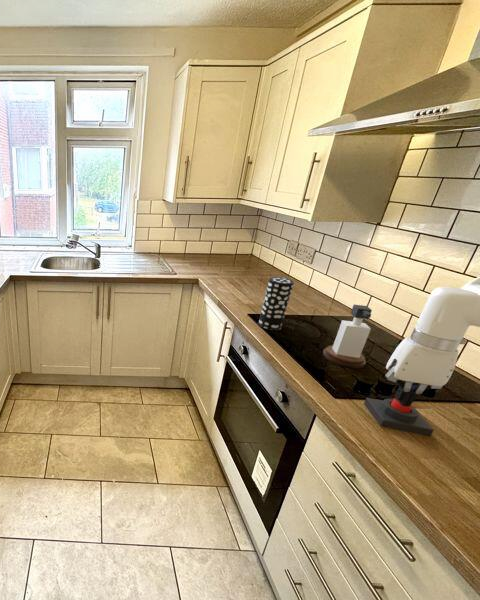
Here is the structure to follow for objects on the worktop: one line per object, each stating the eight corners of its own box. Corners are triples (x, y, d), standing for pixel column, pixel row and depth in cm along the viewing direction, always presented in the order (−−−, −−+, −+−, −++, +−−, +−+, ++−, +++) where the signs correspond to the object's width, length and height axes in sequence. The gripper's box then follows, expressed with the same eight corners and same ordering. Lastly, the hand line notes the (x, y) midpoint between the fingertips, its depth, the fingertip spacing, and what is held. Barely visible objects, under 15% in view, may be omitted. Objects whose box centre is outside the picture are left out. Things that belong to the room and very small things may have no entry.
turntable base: (355, 353, 112) (356, 350, 112) (371, 371, 102) (373, 368, 102) (317, 347, 116) (318, 344, 115) (329, 364, 106) (330, 361, 105)
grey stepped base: (408, 412, 85) (414, 400, 83) (430, 436, 77) (437, 424, 75) (363, 403, 88) (368, 392, 86) (380, 426, 80) (386, 414, 78)
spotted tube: (263, 319, 137) (274, 275, 130) (284, 326, 132) (297, 281, 124) (254, 324, 133) (265, 279, 125) (276, 332, 127) (289, 285, 119)
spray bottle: (321, 344, 115) (337, 299, 108) (356, 350, 111) (375, 303, 104) (331, 359, 106) (349, 310, 99) (369, 366, 102) (390, 316, 95)
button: (404, 405, 82) (407, 399, 81) (412, 415, 79) (416, 408, 78) (387, 402, 83) (390, 396, 82) (395, 411, 80) (398, 405, 79)
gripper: (463, 337, 74) (429, 399, 81) (386, 327, 79) (360, 387, 86) (489, 353, 68) (450, 419, 75) (403, 341, 72) (373, 405, 79)
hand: (402, 402), depth 80 cm, fingers closed
